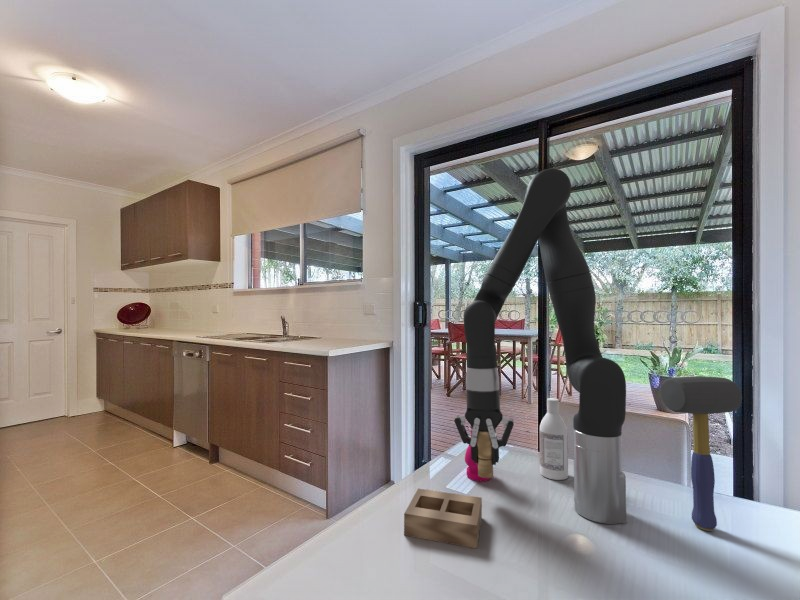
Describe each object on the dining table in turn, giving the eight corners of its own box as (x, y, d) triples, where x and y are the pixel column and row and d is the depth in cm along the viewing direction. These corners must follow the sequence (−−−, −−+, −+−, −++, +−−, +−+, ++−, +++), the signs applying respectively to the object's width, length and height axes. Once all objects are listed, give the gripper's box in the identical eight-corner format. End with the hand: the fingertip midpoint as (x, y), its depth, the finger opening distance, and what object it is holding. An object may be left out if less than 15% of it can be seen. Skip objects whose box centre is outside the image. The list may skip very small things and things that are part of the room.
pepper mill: (495, 482, 94) (495, 402, 95) (467, 482, 94) (467, 402, 95) (489, 471, 101) (489, 396, 102) (462, 470, 101) (462, 396, 102)
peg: (494, 472, 86) (492, 428, 87) (493, 478, 83) (491, 433, 83) (478, 471, 87) (477, 427, 88) (477, 477, 84) (475, 432, 84)
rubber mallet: (715, 517, 78) (710, 373, 80) (752, 538, 71) (746, 379, 72) (660, 519, 77) (656, 373, 79) (691, 540, 70) (686, 379, 71)
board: (481, 517, 77) (481, 497, 77) (476, 548, 67) (476, 525, 67) (418, 507, 81) (418, 488, 81) (404, 535, 70) (404, 513, 71)
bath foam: (549, 468, 103) (548, 395, 104) (573, 476, 98) (572, 399, 99) (534, 474, 99) (533, 398, 100) (559, 483, 94) (558, 403, 95)
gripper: (514, 385, 87) (517, 459, 86) (454, 383, 92) (456, 454, 91) (514, 391, 80) (517, 472, 79) (449, 388, 85) (451, 466, 84)
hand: (485, 462), depth 85 cm, fingers closed on peg, 3 cm apart
